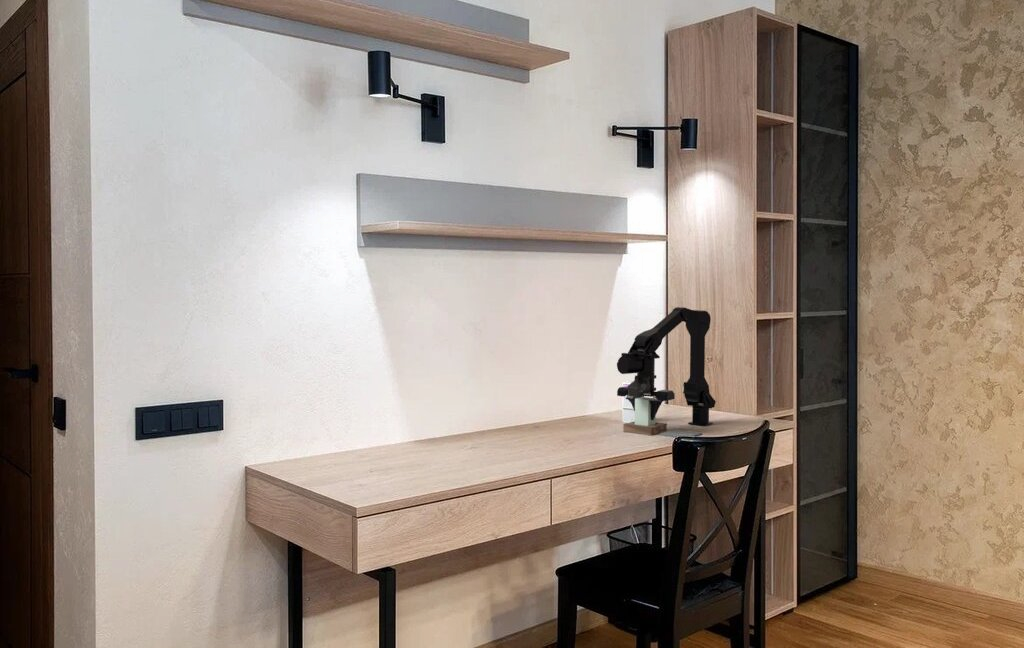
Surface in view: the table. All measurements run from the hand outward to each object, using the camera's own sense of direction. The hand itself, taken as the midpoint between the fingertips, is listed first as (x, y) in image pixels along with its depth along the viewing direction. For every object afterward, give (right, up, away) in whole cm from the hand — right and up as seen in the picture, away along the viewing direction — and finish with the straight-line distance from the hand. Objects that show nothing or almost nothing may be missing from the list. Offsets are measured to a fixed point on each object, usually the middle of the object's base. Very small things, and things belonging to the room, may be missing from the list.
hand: (645, 419), depth 282 cm
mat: (+11, -4, -6) cm, 13 cm away
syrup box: (-1, -3, +18) cm, 18 cm away
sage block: (0, -4, 0) cm, 4 cm away
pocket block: (0, -4, 0) cm, 4 cm away
